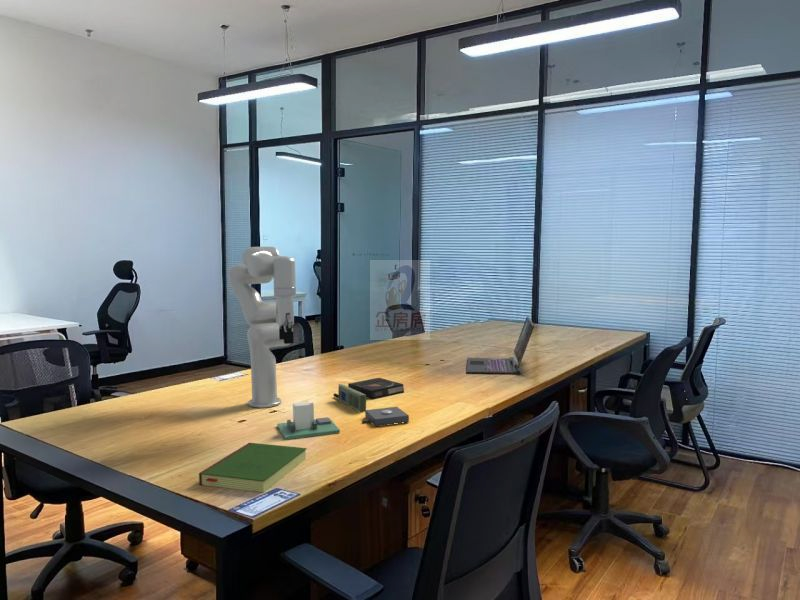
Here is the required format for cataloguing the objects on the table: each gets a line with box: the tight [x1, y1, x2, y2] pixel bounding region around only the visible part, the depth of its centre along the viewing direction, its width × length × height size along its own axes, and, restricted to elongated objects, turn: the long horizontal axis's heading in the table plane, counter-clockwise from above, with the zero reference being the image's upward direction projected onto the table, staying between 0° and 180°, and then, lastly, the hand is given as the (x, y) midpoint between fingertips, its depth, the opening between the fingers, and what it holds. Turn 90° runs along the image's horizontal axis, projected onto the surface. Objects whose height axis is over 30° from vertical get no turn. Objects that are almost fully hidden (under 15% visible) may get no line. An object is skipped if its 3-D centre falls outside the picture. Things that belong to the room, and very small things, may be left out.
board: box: [277, 416, 341, 441], centre depth 196 cm, size 15×18×3 cm
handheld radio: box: [333, 383, 367, 413], centre depth 227 cm, size 7×3×25 cm
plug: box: [292, 401, 315, 430], centre depth 195 cm, size 4×6×8 cm, turn 110°
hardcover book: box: [198, 442, 307, 493], centre depth 159 cm, size 25×19×4 cm
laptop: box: [466, 316, 535, 376], centre depth 292 cm, size 35×32×24 cm
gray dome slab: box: [361, 406, 410, 427], centre depth 205 cm, size 12×15×3 cm
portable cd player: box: [347, 377, 405, 400], centre depth 245 cm, size 16×17×4 cm
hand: (286, 341), depth 205 cm, fingers open, 9 cm apart
